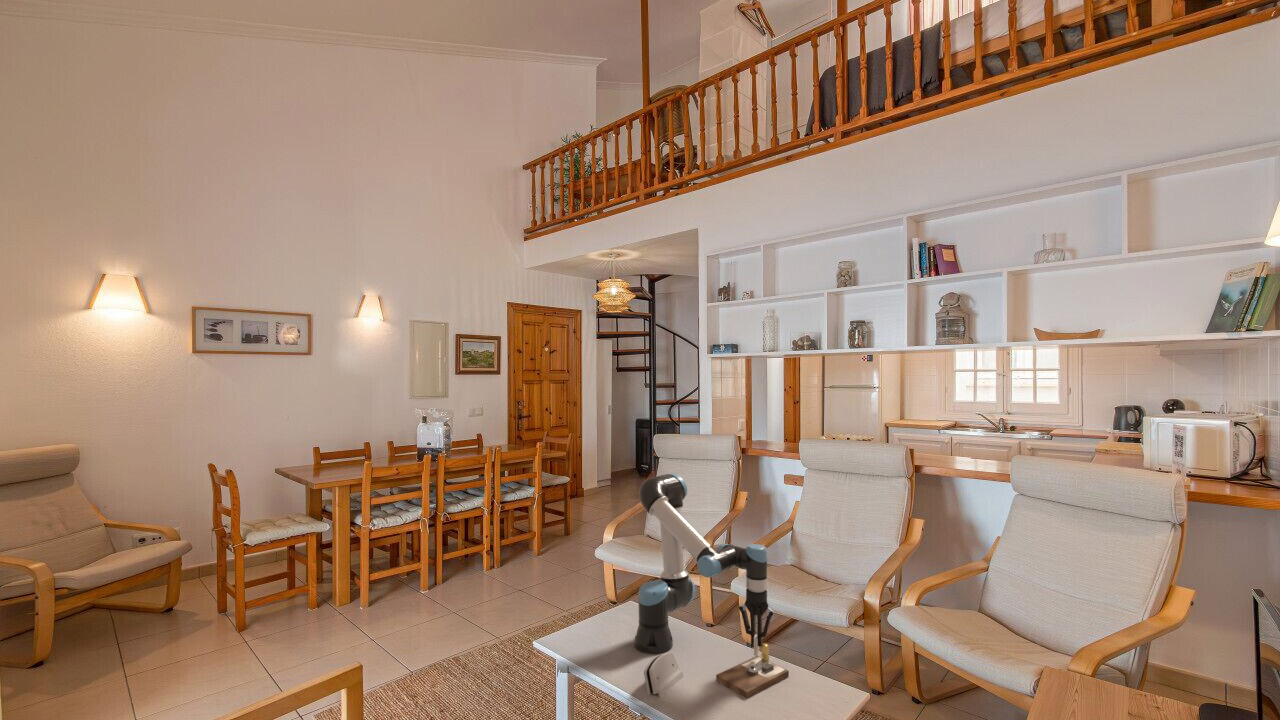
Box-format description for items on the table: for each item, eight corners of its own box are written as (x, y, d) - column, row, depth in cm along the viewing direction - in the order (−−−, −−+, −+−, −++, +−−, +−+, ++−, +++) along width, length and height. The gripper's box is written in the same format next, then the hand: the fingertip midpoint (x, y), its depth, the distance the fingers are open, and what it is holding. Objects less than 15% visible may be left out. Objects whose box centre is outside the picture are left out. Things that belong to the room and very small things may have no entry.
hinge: (660, 698, 190) (651, 666, 192) (648, 699, 192) (640, 667, 194) (684, 675, 204) (675, 646, 206) (673, 676, 206) (664, 647, 208)
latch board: (716, 680, 200) (716, 670, 201) (757, 661, 214) (757, 651, 214) (747, 698, 189) (746, 687, 190) (788, 676, 203) (788, 666, 203)
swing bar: (754, 675, 200) (754, 657, 200) (746, 672, 202) (746, 654, 202) (770, 662, 209) (770, 644, 209) (762, 659, 211) (762, 642, 211)
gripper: (776, 588, 211) (776, 653, 211) (741, 582, 217) (741, 646, 216) (772, 595, 205) (772, 662, 204) (736, 589, 210) (736, 655, 209)
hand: (756, 654), depth 210 cm, fingers closed
